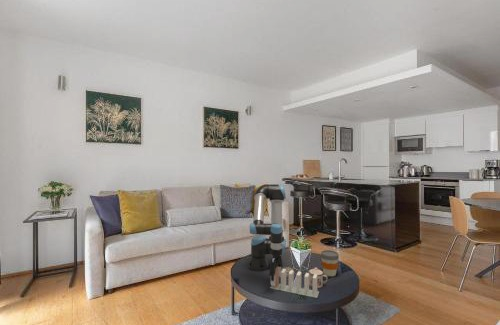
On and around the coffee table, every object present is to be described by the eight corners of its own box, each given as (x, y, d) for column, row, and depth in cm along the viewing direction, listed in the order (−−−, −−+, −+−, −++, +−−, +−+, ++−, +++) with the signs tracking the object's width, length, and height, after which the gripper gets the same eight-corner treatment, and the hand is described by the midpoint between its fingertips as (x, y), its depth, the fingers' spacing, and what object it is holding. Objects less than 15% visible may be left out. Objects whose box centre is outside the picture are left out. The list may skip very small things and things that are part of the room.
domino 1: (273, 287, 170) (273, 270, 170) (275, 283, 175) (276, 267, 175) (276, 288, 169) (276, 271, 169) (278, 284, 175) (278, 268, 174)
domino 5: (304, 294, 162) (304, 276, 162) (306, 289, 168) (306, 272, 167) (307, 294, 162) (307, 276, 162) (309, 290, 167) (309, 273, 167)
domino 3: (288, 290, 166) (288, 273, 166) (290, 286, 172) (290, 270, 171) (291, 291, 166) (291, 274, 165) (293, 287, 171) (293, 270, 171)
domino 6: (312, 295, 161) (312, 277, 160) (314, 291, 166) (314, 274, 165) (315, 296, 160) (315, 278, 160) (317, 292, 165) (317, 274, 165)
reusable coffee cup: (335, 269, 199) (335, 250, 199) (341, 277, 187) (341, 256, 187) (318, 270, 199) (318, 250, 199) (323, 277, 187) (323, 256, 186)
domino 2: (280, 289, 168) (280, 272, 168) (283, 285, 173) (283, 268, 173) (283, 289, 168) (283, 272, 167) (286, 285, 173) (286, 269, 173)
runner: (269, 288, 170) (269, 287, 170) (273, 283, 177) (273, 282, 177) (317, 298, 158) (317, 297, 158) (319, 292, 166) (319, 291, 166)
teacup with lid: (309, 288, 171) (309, 270, 171) (308, 281, 180) (308, 264, 180) (328, 289, 169) (328, 271, 169) (326, 283, 178) (326, 266, 178)
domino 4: (296, 292, 164) (296, 274, 164) (298, 288, 170) (298, 271, 169) (299, 293, 164) (299, 275, 163) (301, 288, 169) (301, 271, 169)
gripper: (276, 255, 159) (275, 290, 159) (286, 243, 182) (286, 273, 182) (264, 253, 162) (264, 288, 162) (276, 242, 185) (276, 272, 185)
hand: (276, 280), depth 172 cm, fingers open, 13 cm apart
